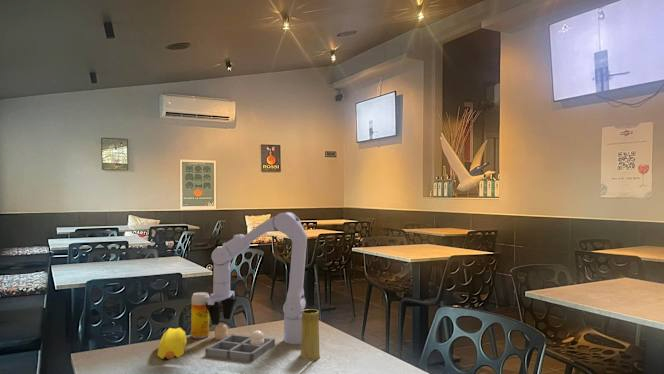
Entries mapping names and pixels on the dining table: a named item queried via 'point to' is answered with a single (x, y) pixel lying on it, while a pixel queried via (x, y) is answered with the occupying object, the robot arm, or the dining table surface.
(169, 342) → the yellow banana
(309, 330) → the vase
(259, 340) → the cream egg
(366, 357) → the dining table surface
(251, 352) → the gray compartment tray
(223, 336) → the brown egg
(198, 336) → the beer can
